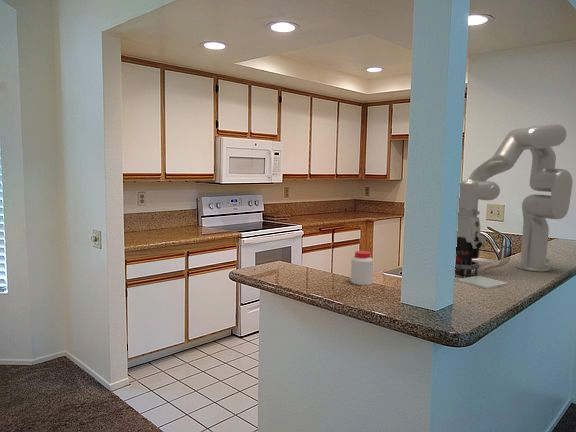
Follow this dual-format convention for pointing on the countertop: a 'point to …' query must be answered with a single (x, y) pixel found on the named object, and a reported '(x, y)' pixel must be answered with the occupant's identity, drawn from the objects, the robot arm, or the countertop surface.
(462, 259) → the deodorant
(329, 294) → the countertop surface
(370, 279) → the pill bottle
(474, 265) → the ring stand
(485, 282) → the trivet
